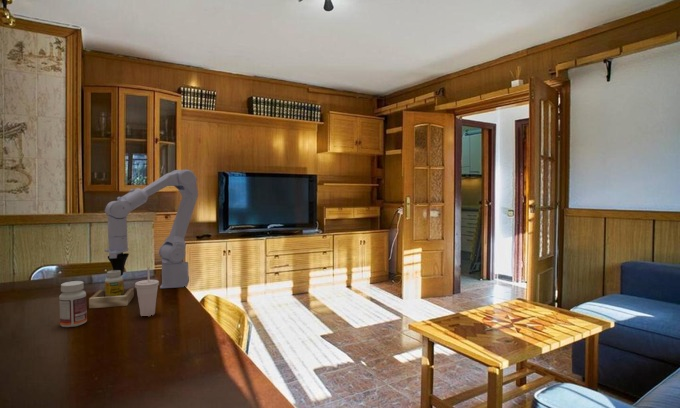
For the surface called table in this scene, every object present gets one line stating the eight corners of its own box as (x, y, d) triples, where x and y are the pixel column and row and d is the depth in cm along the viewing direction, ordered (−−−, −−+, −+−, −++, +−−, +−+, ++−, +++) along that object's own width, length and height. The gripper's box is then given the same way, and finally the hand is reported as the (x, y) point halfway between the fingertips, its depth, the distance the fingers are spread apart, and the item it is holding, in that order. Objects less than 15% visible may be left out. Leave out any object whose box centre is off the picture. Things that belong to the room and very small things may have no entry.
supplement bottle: (120, 296, 133) (119, 268, 133) (126, 299, 130) (126, 271, 130) (102, 300, 129) (101, 271, 129) (109, 303, 126) (108, 273, 125)
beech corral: (134, 296, 134) (133, 287, 134) (126, 305, 124) (126, 296, 124) (99, 298, 131) (99, 289, 131) (89, 308, 121) (89, 298, 121)
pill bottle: (88, 318, 112) (87, 279, 111) (85, 325, 106) (84, 284, 106) (62, 321, 109) (61, 281, 109) (57, 329, 104) (56, 287, 103)
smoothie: (164, 312, 117) (163, 266, 117) (145, 319, 111) (144, 270, 111) (149, 309, 120) (148, 264, 119) (130, 316, 114) (129, 268, 113)
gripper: (110, 233, 140) (111, 271, 140) (98, 239, 126) (99, 281, 127) (132, 233, 142) (133, 270, 142) (122, 238, 128) (123, 279, 129)
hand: (119, 275), depth 135 cm, fingers closed
